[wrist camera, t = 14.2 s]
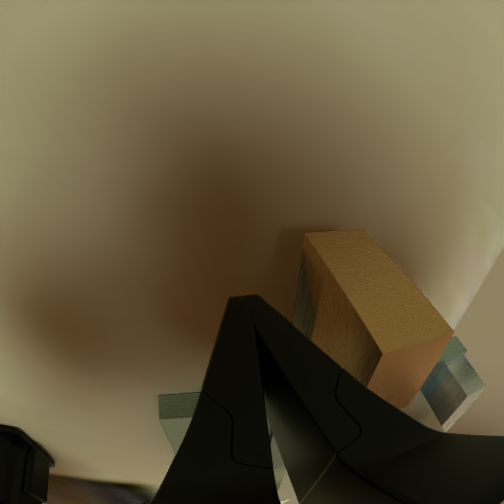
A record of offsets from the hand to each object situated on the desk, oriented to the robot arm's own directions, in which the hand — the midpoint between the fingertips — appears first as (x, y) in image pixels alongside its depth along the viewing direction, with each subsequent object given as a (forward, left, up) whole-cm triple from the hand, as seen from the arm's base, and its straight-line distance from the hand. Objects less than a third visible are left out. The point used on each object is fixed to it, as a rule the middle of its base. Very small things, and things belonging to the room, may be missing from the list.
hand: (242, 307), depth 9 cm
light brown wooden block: (+3, -9, -1) cm, 9 cm away
